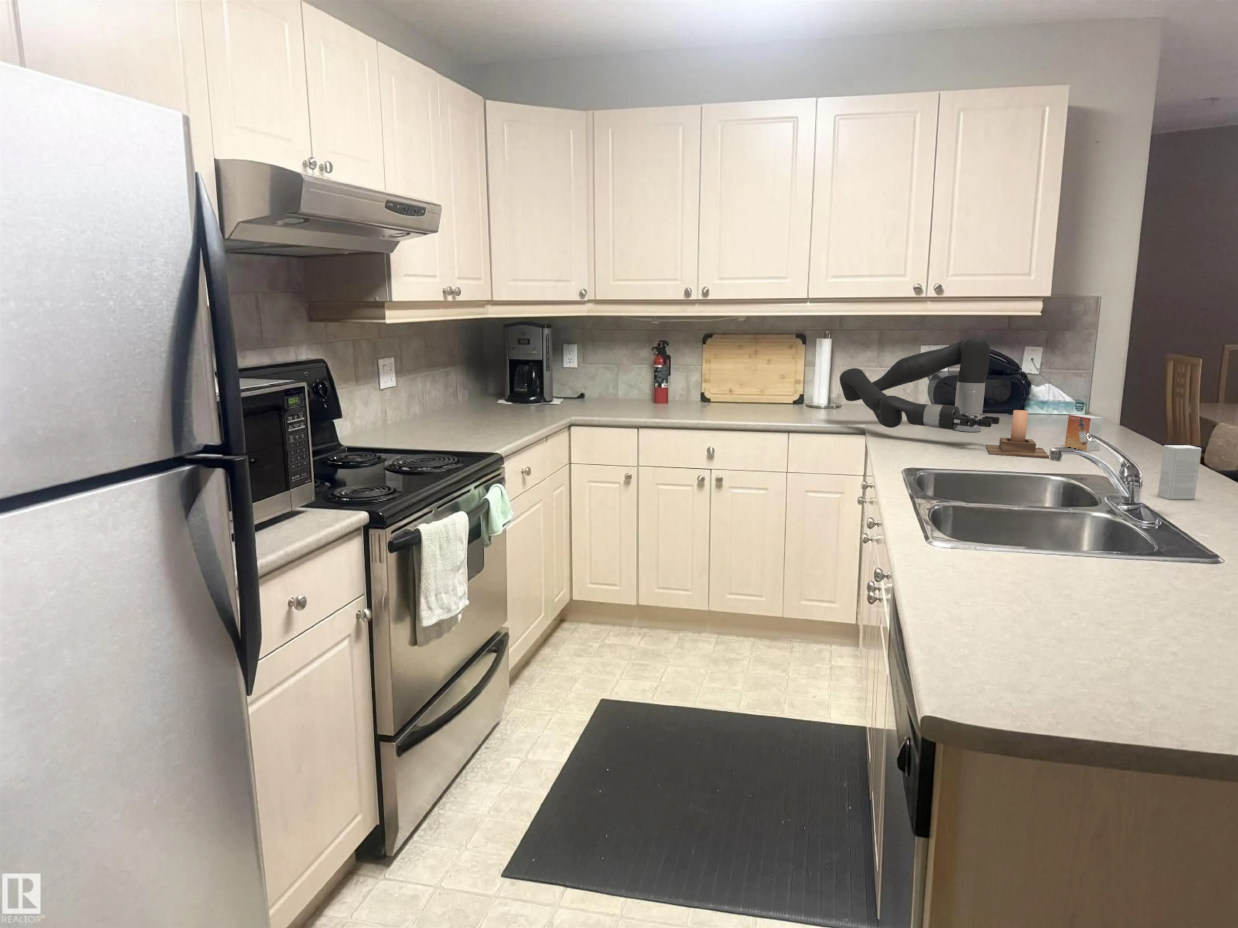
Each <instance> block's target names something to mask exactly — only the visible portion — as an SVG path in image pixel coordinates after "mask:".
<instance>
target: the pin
mask: <svg viewBox="0 0 1238 928" xmlns="http://www.w3.org/2000/svg"><path fill="white" fill-rule="evenodd" d="M1012 413H1013V414H1012V422H1011V431H1010V437H1009V438H1010V441H1011V442H1025V439H1026V436H1027V427H1028V419H1029V417H1028V416H1029V411H1028V410H1022V409H1020V410H1019V409H1014V410H1013V411H1012Z"/></svg>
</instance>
